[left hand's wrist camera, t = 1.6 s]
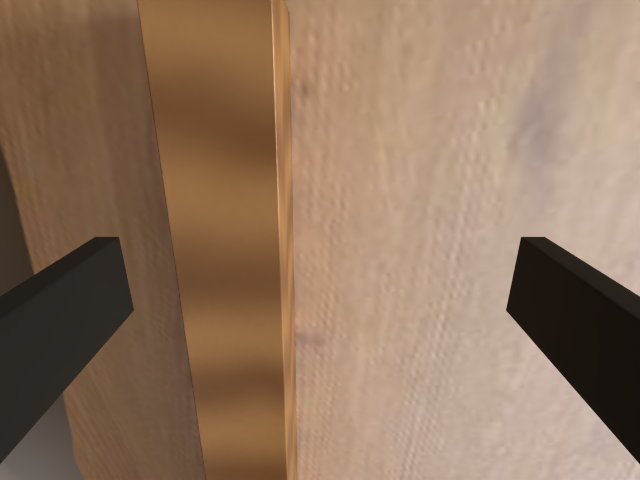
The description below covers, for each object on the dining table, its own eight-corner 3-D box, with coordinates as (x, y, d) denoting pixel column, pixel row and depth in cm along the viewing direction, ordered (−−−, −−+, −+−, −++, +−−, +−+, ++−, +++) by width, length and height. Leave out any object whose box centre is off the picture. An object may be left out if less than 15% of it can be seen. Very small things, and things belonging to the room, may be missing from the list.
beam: (198, 10, 22) (130, -36, 14) (289, 11, 22) (271, -35, 14) (251, 574, 42) (235, 684, 35) (299, 574, 42) (293, 685, 35)
